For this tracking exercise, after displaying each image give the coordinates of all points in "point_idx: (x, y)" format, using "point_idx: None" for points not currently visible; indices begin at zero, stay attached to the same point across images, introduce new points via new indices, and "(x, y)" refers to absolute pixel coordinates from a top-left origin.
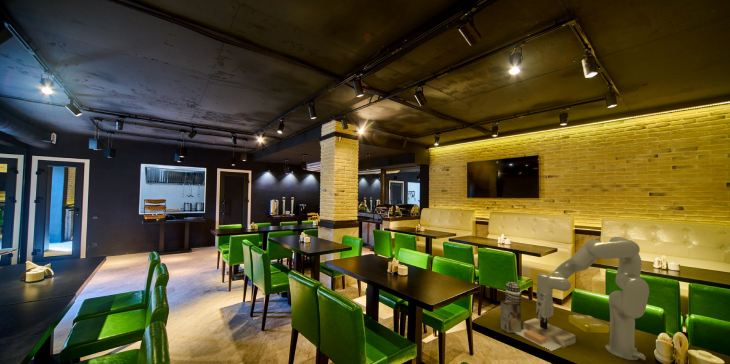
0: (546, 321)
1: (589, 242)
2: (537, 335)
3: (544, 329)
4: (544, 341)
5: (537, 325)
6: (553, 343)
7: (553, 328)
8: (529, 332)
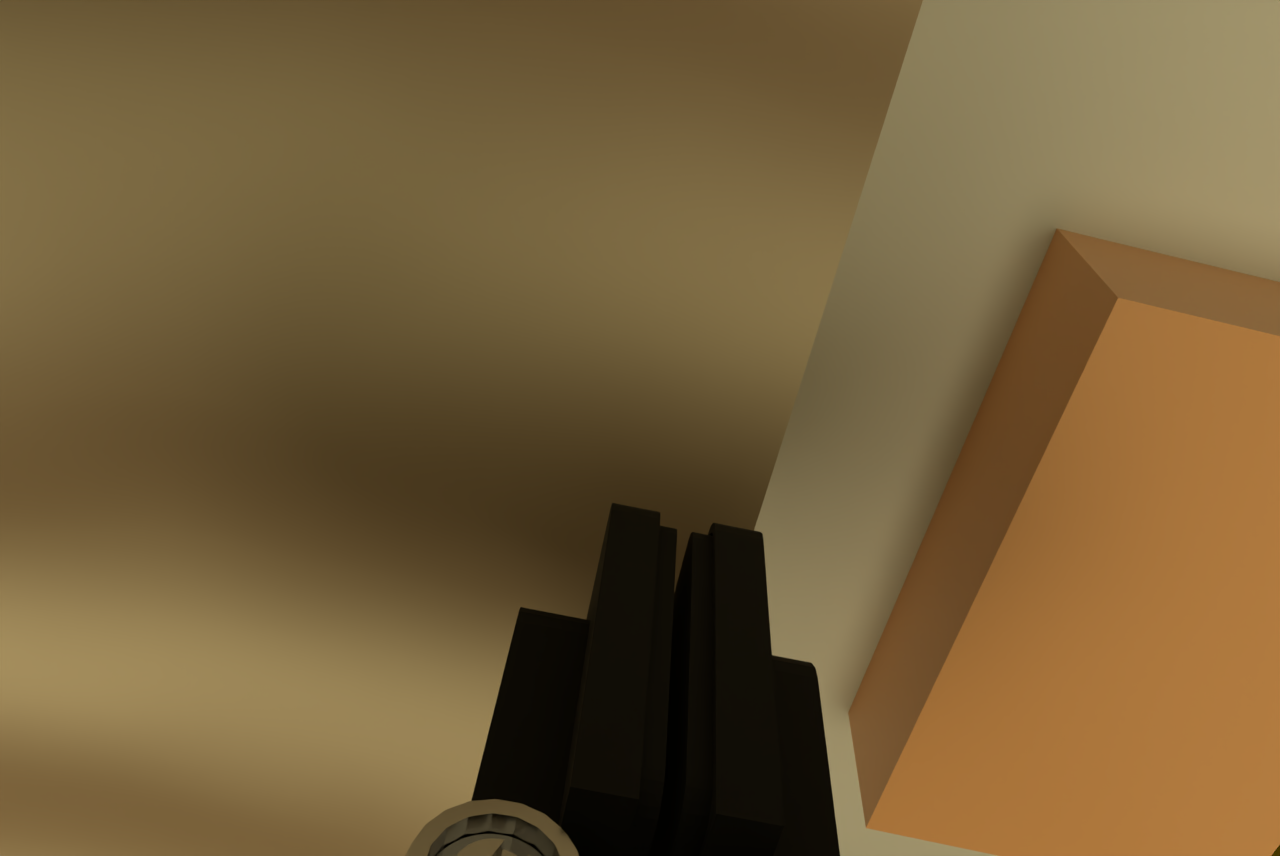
0: (504, 841)
1: None
2: (1193, 586)
3: (549, 557)
4: (1235, 288)
5: (425, 796)
6: (971, 9)
7: (21, 328)
8: (1130, 802)
